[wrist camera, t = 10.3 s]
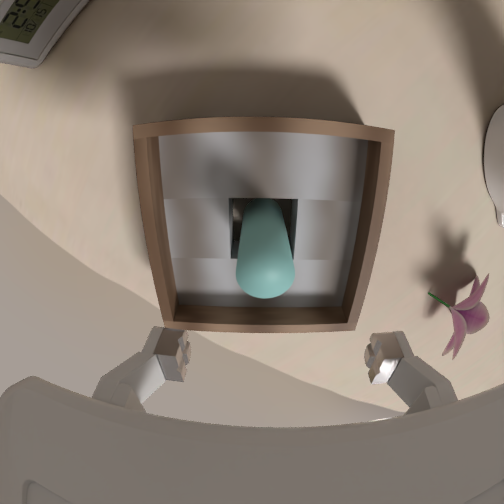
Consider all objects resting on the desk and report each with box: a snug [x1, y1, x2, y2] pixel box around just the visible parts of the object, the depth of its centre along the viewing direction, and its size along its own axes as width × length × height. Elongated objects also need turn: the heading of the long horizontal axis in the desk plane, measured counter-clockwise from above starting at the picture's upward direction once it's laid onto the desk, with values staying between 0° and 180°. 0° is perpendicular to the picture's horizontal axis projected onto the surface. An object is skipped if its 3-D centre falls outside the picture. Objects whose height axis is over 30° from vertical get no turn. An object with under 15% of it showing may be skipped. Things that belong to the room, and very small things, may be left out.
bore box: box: [133, 117, 395, 333], centre depth 23 cm, size 18×18×6 cm
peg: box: [236, 198, 295, 298], centre depth 21 cm, size 4×4×10 cm
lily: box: [428, 274, 489, 360], centre depth 27 cm, size 12×12×10 cm
